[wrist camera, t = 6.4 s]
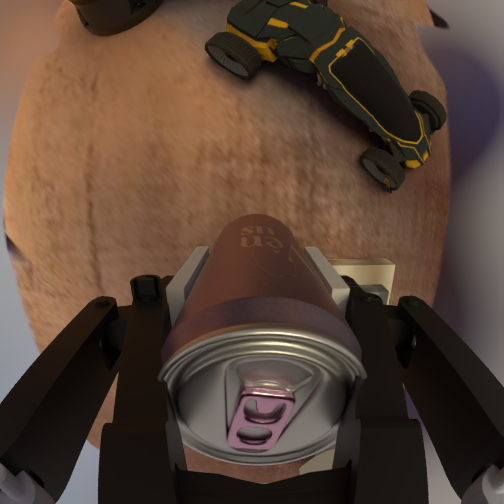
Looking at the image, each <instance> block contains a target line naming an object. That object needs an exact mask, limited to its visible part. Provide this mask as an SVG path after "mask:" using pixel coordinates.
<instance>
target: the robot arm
mask: <svg viewBox="0 0 504 504" xmlns="http://www.w3.org/2000/svg"><path fill="white" fill-rule="evenodd" d="M69 1H70V2H72V3H73V4H74V5H75V7H76V10H77V13H78V15H79V18H80V20H81V22H82V24H83V26H84V27H85V28H86V29H88V30H89V31H90V32H92V33H94V34H96V35H112V34H116V33H119V32H122V31H124V30H127V29H129V28H131V27H133V26H135V25H136V24H138V23H140V22H141V21H143V20H144V19H146V18H147V17H148V16H149V15H151V14H152V13H153V12H154V11H155V10H156V9H157V8H158V7H159V6H160V4H161V3H162V2H163V0H69ZM304 253H305V254H306V256H307V257H308V259H309V261H310V262H311V264H312V265H313V267H314V269H315V270H316V272H317V273H318V275H319V277H320V278H321V280H322V281H323V283H324V285H325V286H326V288H327V290H328V291H329V293H330V294H331V296H332V298H333V299H334V301H335V303H336V304H337V306H338V308H339V309H340V311H341V313H342V314H343V316H344V318H345V319H346V321H347V323H348V325H349V326H350V328H351V330H352V331H353V333H354V335H355V337H356V338H357V340H358V342H359V344H360V347H361V350H362V355H361V363H362V365H363V367H364V369H365V371H366V374H367V378H366V379H360V378H359V377H358V376H357V375H356V376H355V378H354V381H353V384H352V388H351V391H350V394H349V398H348V401H347V404H346V407H345V410H344V412H343V415H342V418H341V421H340V424H339V427H338V430H337V438H336V445H335V452H334V459H333V465H332V469H329V470H323V471H315V472H308V473H305V474H302V475H298V476H295V477H292V478H288V479H284V480H280V481H277V482H272V483H268V484H259V483H254V482H249V481H245V480H240V479H236V478H232V477H228V476H224V475H221V474H214V473H203V472H194V471H188V470H187V465H186V460H185V454H184V449H183V443H182V437H181V433H180V428H179V425H178V421H177V417H176V414H175V410H174V407H173V403H172V400H171V396H170V392H169V389H168V385H167V383H166V381H159V380H158V379H157V378H158V375H159V373H160V370H161V369H162V367H163V365H162V358H161V350H162V348H163V346H164V344H165V341H166V339H167V337H168V335H169V333H170V331H171V329H172V327H173V325H174V323H175V321H176V319H177V317H178V315H179V313H180V311H181V309H182V307H183V305H184V303H185V301H186V299H187V297H188V295H189V293H190V291H191V289H192V287H193V285H194V283H195V281H196V279H197V277H198V275H199V274H200V272H201V270H202V268H203V266H204V264H205V262H206V260H207V258H208V256H209V246H197V247H196V248H195V250H194V251H193V252H192V253H191V255H190V256H189V257H188V259H187V260H186V261H185V263H184V264H183V265H182V267H181V268H180V269H179V271H178V272H177V274H176V275H175V276H166V277H164V278H162V279H160V277H159V276H157V275H141V276H138V277H135V278H133V279H132V280H131V281H130V284H131V290H132V296H133V302H132V305H129V306H119V307H117V303H116V299H115V298H113V297H105V296H101V297H97V298H96V299H94V300H92V301H91V302H89V303H88V304H87V305H86V306H85V307H84V308H83V309H82V310H81V311H80V312H79V313H78V314H77V315H76V317H75V318H74V319H73V320H72V321H71V322H70V323H69V324H68V325H67V326H66V327H65V328H64V329H63V330H62V331H61V332H60V333H59V334H58V336H57V337H56V338H55V339H54V340H53V341H52V342H51V343H50V344H49V345H48V347H47V348H46V349H45V350H44V351H43V352H42V353H41V354H40V356H39V357H38V358H37V359H36V360H35V361H34V363H33V364H32V365H31V366H30V367H29V369H28V370H27V371H26V372H25V373H24V374H23V376H22V377H21V378H20V379H19V381H18V382H17V383H16V384H15V386H14V387H13V388H12V389H11V391H10V392H9V393H8V394H7V396H6V397H5V398H4V400H3V401H2V402H1V404H0V504H55V503H56V502H57V501H58V500H59V498H60V496H61V495H62V493H63V491H64V490H65V488H66V486H67V484H68V482H69V479H70V477H71V475H72V472H73V470H74V467H75V464H76V462H77V460H78V457H79V455H80V452H81V450H82V448H83V446H84V443H85V441H86V439H87V436H88V434H89V432H90V430H91V427H92V425H93V423H94V421H95V419H96V417H97V414H98V412H99V410H100V408H101V406H102V404H103V402H104V400H105V398H106V396H107V393H108V391H109V389H110V387H111V385H112V383H113V381H114V379H115V377H116V375H117V373H118V372H119V375H118V382H117V389H116V397H115V405H114V415H113V422H112V423H105V424H104V425H103V429H102V434H101V444H100V457H99V475H98V476H99V477H98V504H429V501H428V482H427V468H426V459H425V450H424V442H423V436H422V429H421V425H420V422H419V421H418V420H417V419H409V418H408V413H407V407H406V400H405V394H404V388H403V384H404V386H405V388H406V390H407V392H408V394H409V395H410V397H411V399H412V401H413V403H414V405H415V407H416V409H417V411H418V413H419V416H420V417H421V419H422V422H423V424H424V426H425V428H426V430H427V432H428V434H429V437H430V439H431V441H432V443H433V445H434V448H435V450H436V452H437V454H438V457H439V459H440V461H441V464H442V466H443V468H444V471H445V474H446V476H447V478H448V480H449V482H450V484H451V486H452V487H453V489H454V491H455V492H456V494H457V495H458V496H459V498H460V499H461V500H462V501H461V504H504V387H503V386H502V385H501V383H500V382H499V381H498V380H497V379H496V377H495V376H494V375H493V374H492V373H491V371H490V370H489V369H488V368H487V367H486V366H485V364H484V363H483V362H482V361H481V360H480V359H479V358H478V356H477V355H476V354H475V353H474V352H473V351H472V350H471V349H470V348H469V346H468V345H467V344H466V343H465V342H464V341H463V340H462V339H461V338H460V337H459V336H458V335H457V334H456V333H455V332H454V331H453V330H452V329H451V327H450V326H449V325H447V323H446V322H445V321H444V320H443V319H442V318H441V317H439V315H438V314H436V312H435V311H434V310H433V309H432V308H431V307H430V306H429V305H427V304H426V303H425V302H424V301H423V300H421V299H419V298H417V297H416V296H403V297H401V298H399V302H398V306H392V305H384V304H383V301H382V299H381V297H380V296H378V295H376V294H373V293H369V292H364V290H363V289H362V288H361V287H359V285H358V284H357V283H356V281H355V280H354V279H353V278H351V277H349V276H347V275H339V274H338V273H337V271H336V270H335V269H334V268H333V267H332V265H331V264H330V263H329V262H328V260H327V259H326V258H325V257H324V256H323V254H322V253H321V252H320V251H319V249H318V248H317V247H304ZM415 342H416V346H415ZM402 382H403V383H402Z"/></svg>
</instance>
